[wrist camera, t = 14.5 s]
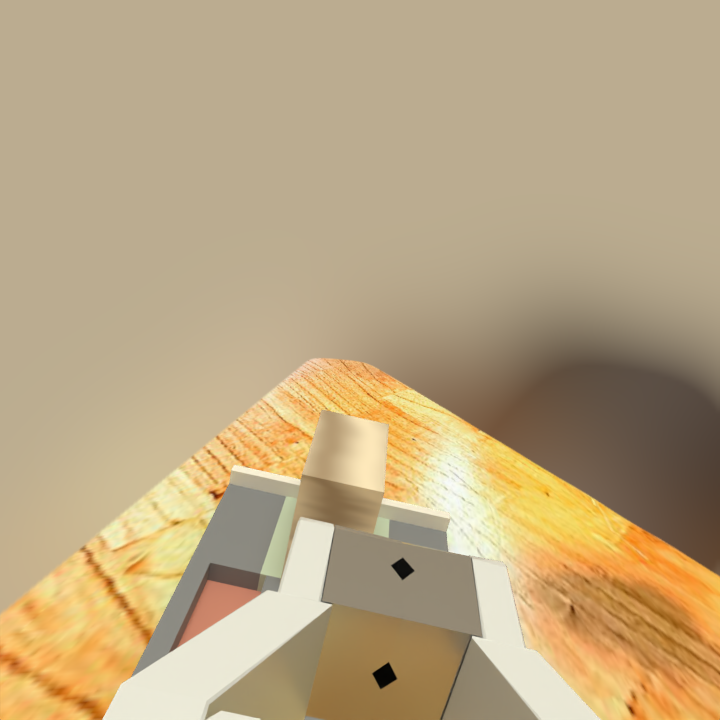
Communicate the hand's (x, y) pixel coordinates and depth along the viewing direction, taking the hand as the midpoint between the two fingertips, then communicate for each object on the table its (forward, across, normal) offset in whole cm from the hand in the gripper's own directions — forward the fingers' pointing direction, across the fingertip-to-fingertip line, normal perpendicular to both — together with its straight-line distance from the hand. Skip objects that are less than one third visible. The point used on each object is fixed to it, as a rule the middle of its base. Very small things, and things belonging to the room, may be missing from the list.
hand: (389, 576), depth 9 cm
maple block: (+37, 0, +28) cm, 46 cm away
